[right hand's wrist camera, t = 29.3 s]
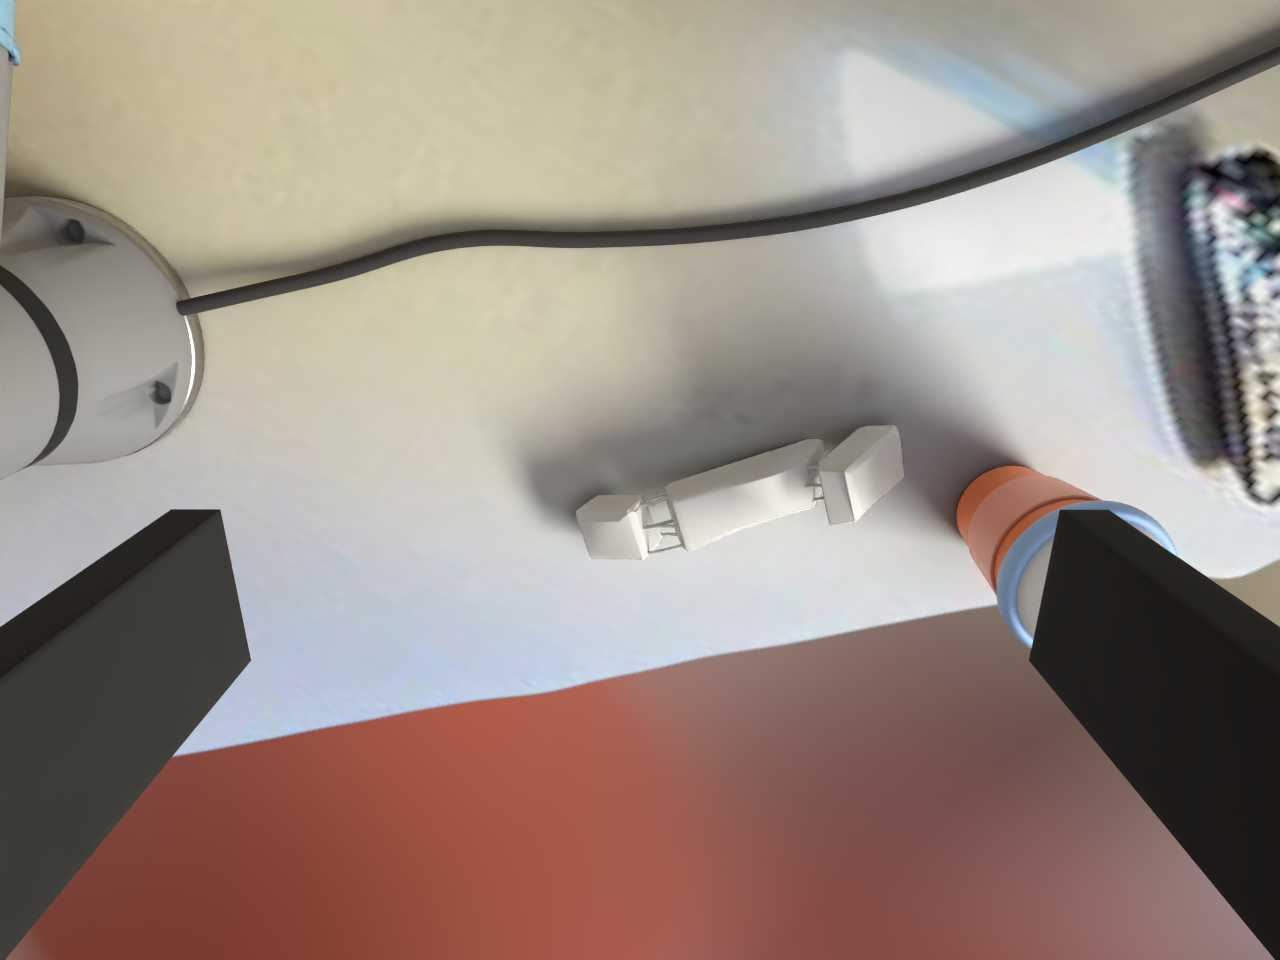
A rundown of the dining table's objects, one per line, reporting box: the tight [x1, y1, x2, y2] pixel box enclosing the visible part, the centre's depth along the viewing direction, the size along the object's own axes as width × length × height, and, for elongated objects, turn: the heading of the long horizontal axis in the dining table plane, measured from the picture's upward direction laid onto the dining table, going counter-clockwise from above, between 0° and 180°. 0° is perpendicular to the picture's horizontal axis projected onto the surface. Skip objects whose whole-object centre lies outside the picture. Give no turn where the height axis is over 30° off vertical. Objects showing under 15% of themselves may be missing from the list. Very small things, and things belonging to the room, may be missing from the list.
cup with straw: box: [957, 466, 1178, 648], centre depth 42 cm, size 9×9×18 cm
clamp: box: [576, 425, 905, 560], centre depth 47 cm, size 20×4×7 cm, turn 106°
